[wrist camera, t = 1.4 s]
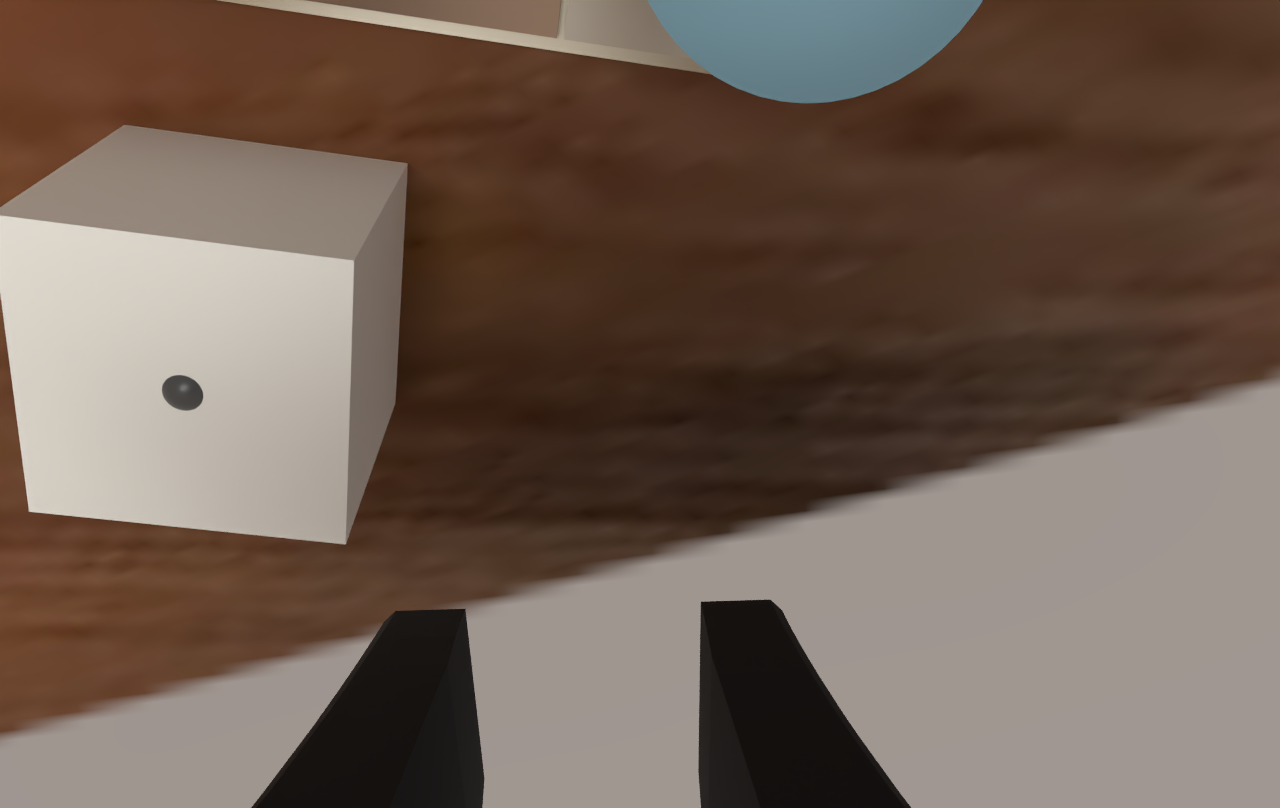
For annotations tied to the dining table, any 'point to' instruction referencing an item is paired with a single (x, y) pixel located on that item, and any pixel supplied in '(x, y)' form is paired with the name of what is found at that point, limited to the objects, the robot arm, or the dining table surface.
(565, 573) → the dining table surface
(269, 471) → the die
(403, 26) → the board
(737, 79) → the blue capsule cylinder
